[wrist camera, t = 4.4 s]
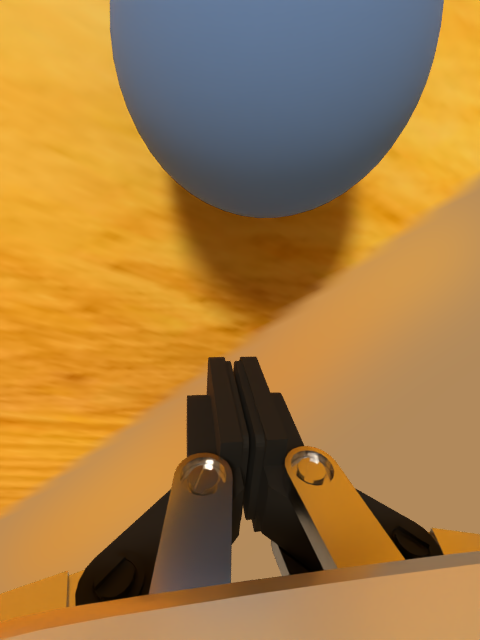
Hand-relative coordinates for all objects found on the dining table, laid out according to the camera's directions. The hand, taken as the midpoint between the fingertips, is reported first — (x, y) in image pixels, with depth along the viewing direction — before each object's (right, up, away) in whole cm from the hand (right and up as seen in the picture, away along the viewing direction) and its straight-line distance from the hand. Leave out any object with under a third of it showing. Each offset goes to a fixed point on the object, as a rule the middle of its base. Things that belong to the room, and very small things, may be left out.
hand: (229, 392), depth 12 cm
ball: (+1, +8, -5) cm, 9 cm away
